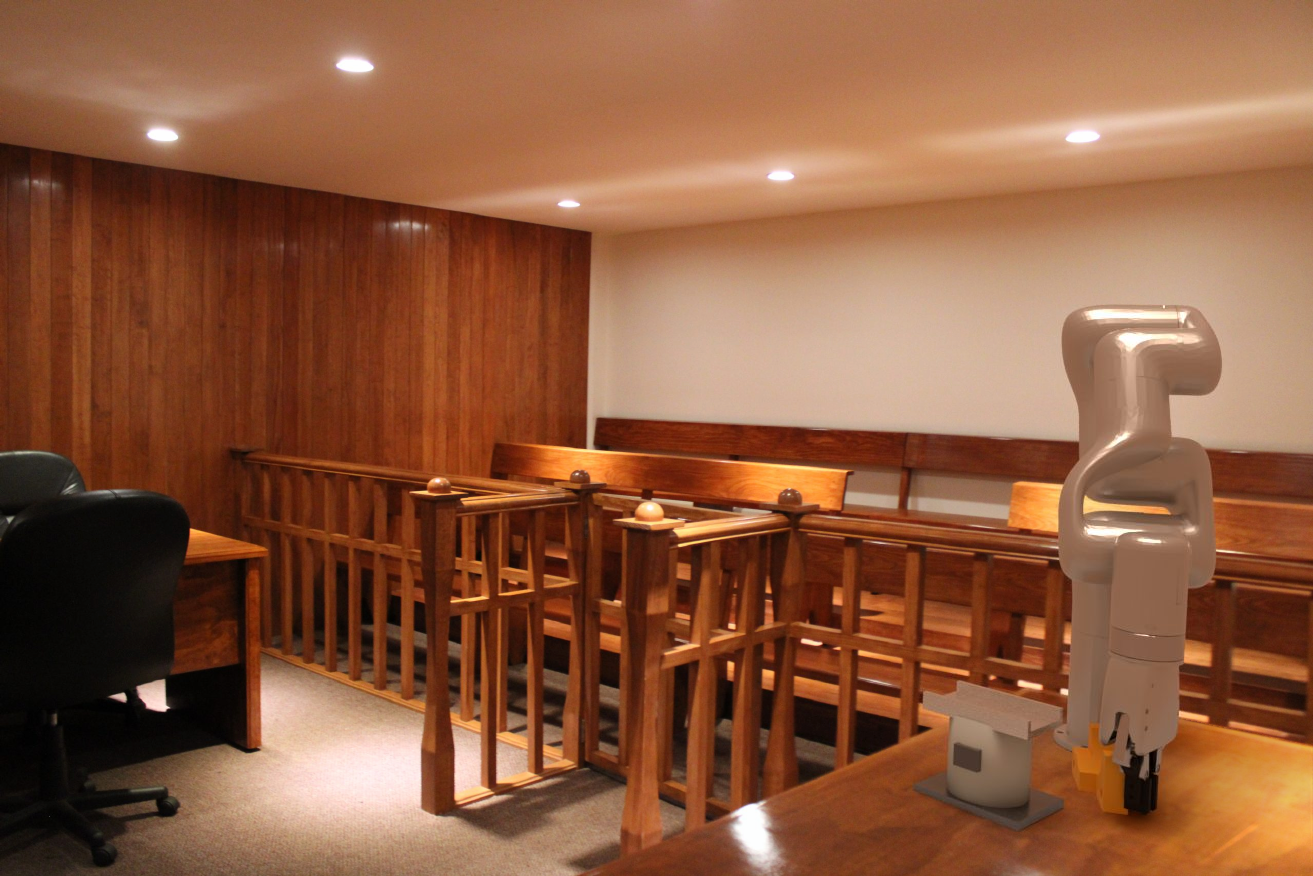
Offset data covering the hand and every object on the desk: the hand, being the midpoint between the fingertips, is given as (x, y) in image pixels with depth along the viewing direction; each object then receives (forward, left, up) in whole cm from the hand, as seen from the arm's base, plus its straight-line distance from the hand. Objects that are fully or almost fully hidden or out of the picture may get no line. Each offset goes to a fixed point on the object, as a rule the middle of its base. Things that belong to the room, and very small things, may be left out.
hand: (1137, 807), depth 113 cm
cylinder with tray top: (+10, -13, -1) cm, 16 cm away
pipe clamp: (-3, -6, -1) cm, 7 cm away
